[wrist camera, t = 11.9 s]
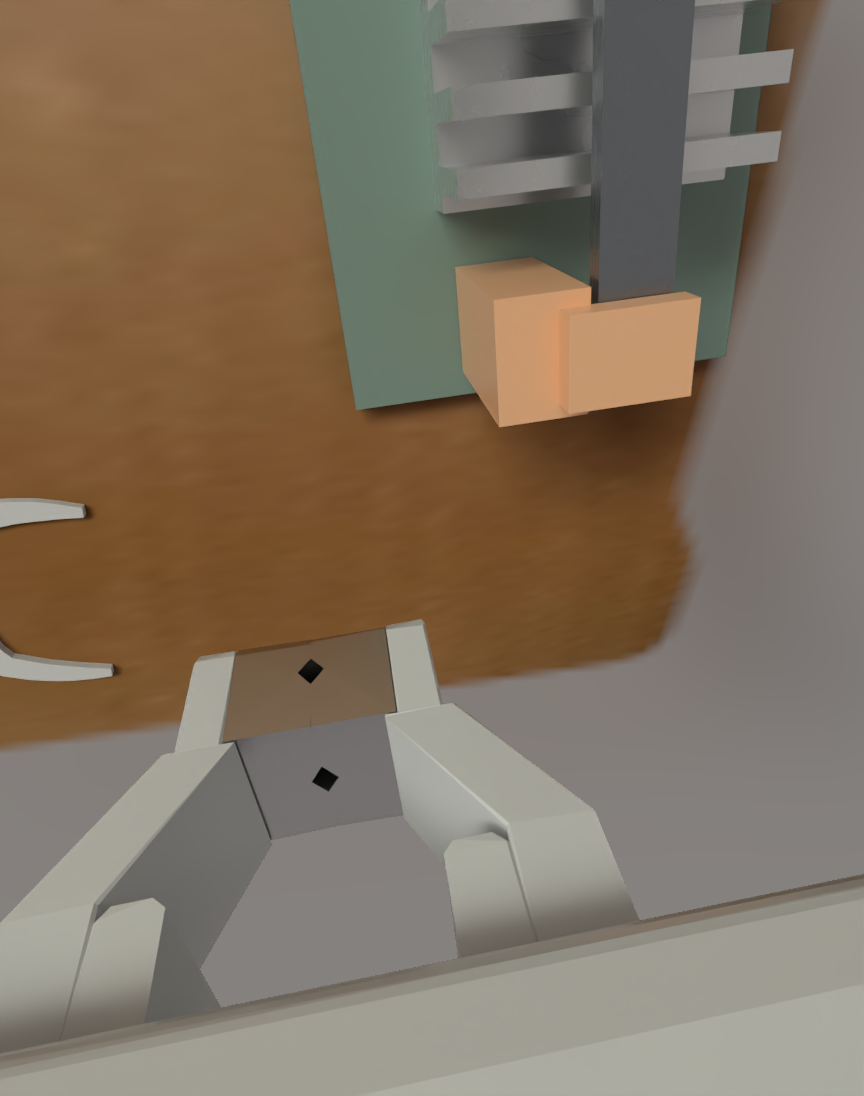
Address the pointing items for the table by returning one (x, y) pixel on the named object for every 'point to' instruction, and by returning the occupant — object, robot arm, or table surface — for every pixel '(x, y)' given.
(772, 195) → the table surface
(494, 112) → the heatsink
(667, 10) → the strap
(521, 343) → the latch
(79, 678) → the pliers
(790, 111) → the table surface
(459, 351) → the board
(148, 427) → the table surface
